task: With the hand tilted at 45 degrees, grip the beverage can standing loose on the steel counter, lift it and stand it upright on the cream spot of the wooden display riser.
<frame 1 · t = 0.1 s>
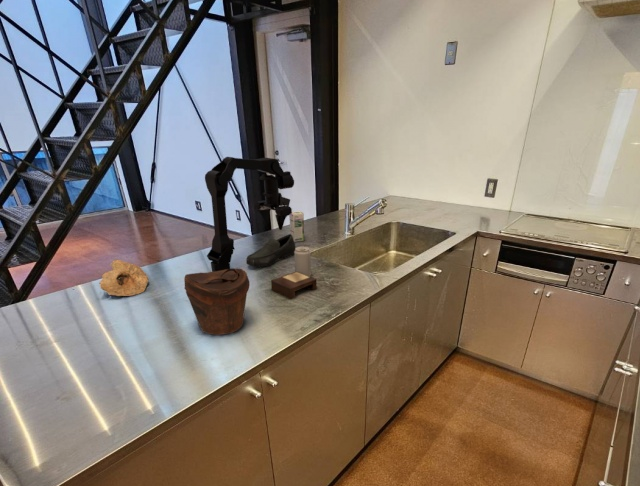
hand: (273, 227, 165), 15 cm above the table, tool pointing down, fingers open, 9 cm apart
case: (223, 325, 118), on the table
loafer: (271, 261, 171), on the table
syrup box: (297, 240, 199), on the table
tan lumpy piece: (128, 290, 140), on the table
wooden display riser: (294, 289, 143), on the table
beverage can: (302, 277, 155), on the table
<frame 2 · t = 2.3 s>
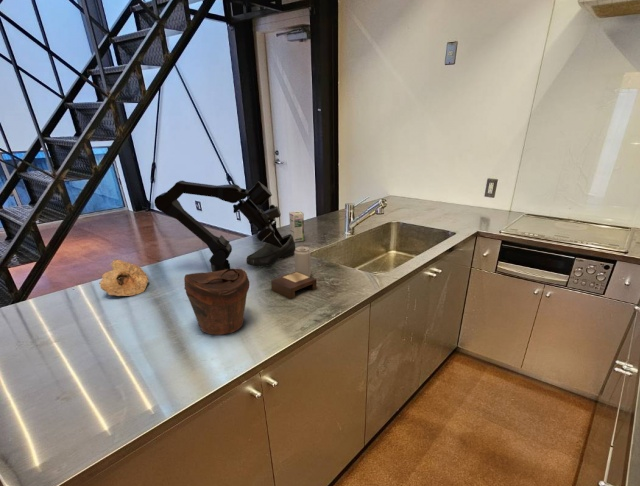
hand: (282, 243, 149), 13 cm above the table, tool tilted 40°, fingers open, 9 cm apart
nothing on the table moved.
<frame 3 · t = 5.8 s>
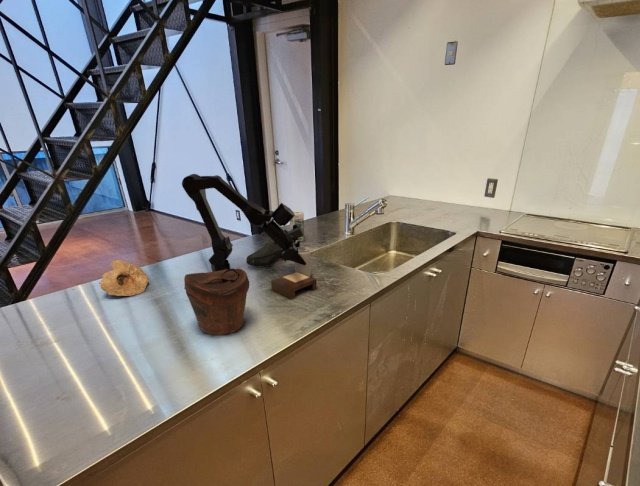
hand: (306, 261, 151), 7 cm above the table, tool tilted 45°, fingers closed on beverage can, 6 cm apart
beverage can: (302, 277, 155), on the table, touching gripper
everything else where it was.
when the fingers open (11 cm above the table, at t = 10.9 s): beverage can stays where it is, resting on wooden display riser.
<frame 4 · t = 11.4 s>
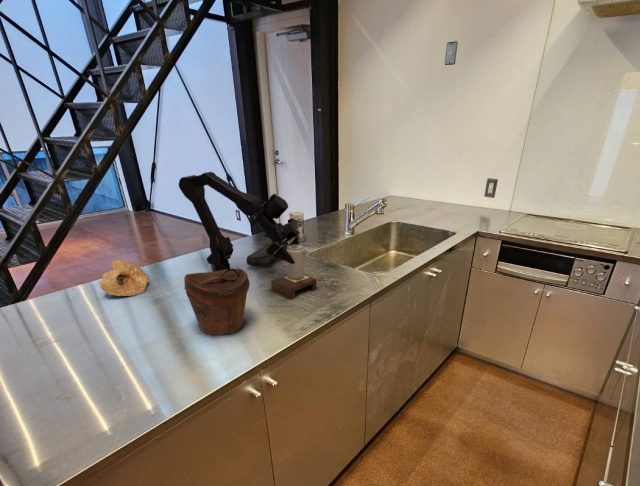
hand: (299, 259, 139), 11 cm above the table, tool tilted 45°, fingers open, 9 cm apart
beverage can: (295, 277, 143), point 4 cm above the table, touching wooden display riser
everything else where it was.
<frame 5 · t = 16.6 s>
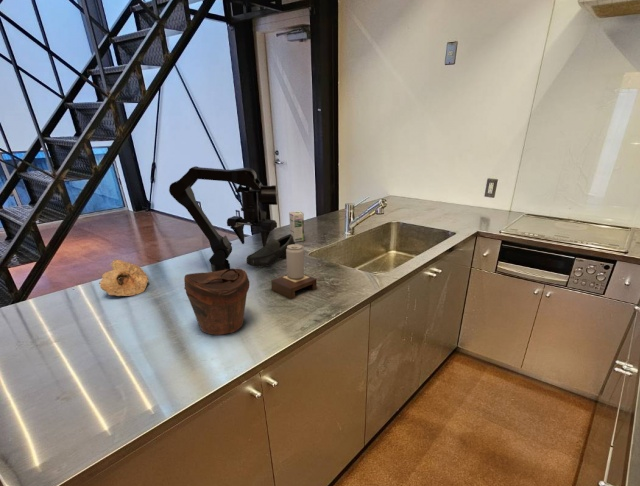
hand: (253, 245, 148), 13 cm above the table, tool pointing down, fingers open, 9 cm apart
nothing on the table moved.
at the end: beverage can 0.2 cm from the target spot on the wooden display riser, point 4.0 cm above the wooden display riser's base; beverage can tilted 0°; the gripper is holding nothing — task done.
